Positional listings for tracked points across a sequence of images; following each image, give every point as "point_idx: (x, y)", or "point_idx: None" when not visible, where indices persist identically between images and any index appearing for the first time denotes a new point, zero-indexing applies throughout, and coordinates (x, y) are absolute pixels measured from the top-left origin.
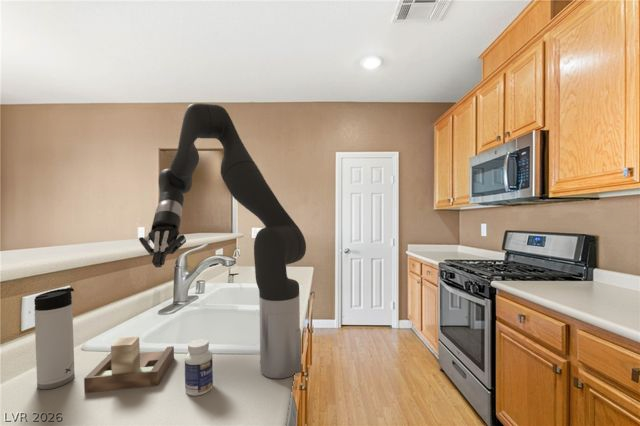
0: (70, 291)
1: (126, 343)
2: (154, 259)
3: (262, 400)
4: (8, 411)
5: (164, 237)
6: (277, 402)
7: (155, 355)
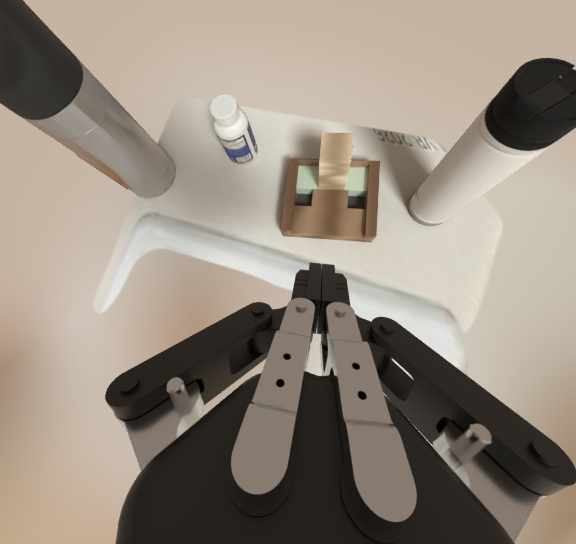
0: (513, 93)
1: (331, 138)
2: (337, 285)
3: (184, 122)
4: (445, 153)
5: (289, 388)
6: (171, 117)
7: (305, 220)
